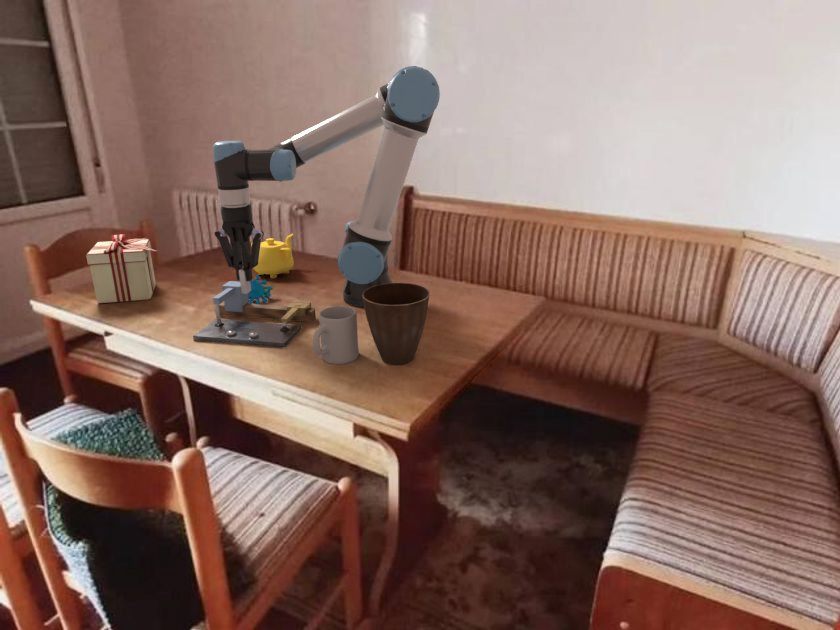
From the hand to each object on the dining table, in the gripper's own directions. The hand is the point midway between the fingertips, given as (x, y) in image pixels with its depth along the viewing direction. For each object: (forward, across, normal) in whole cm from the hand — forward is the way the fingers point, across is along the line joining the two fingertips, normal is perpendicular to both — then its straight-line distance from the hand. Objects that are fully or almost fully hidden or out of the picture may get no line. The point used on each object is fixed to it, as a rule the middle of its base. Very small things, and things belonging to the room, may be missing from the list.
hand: (246, 291), depth 157 cm
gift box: (+7, +43, -11) cm, 45 cm away
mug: (+7, -32, +21) cm, 39 cm away
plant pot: (+7, -46, +18) cm, 50 cm away
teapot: (+7, +8, -38) cm, 40 cm away
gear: (+7, +3, -11) cm, 13 cm away
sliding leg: (+5, +3, +4) cm, 7 cm away
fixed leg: (+5, -15, +4) cm, 16 cm away
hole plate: (+7, -6, +12) cm, 15 cm away
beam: (+7, -5, 0) cm, 8 cm away
